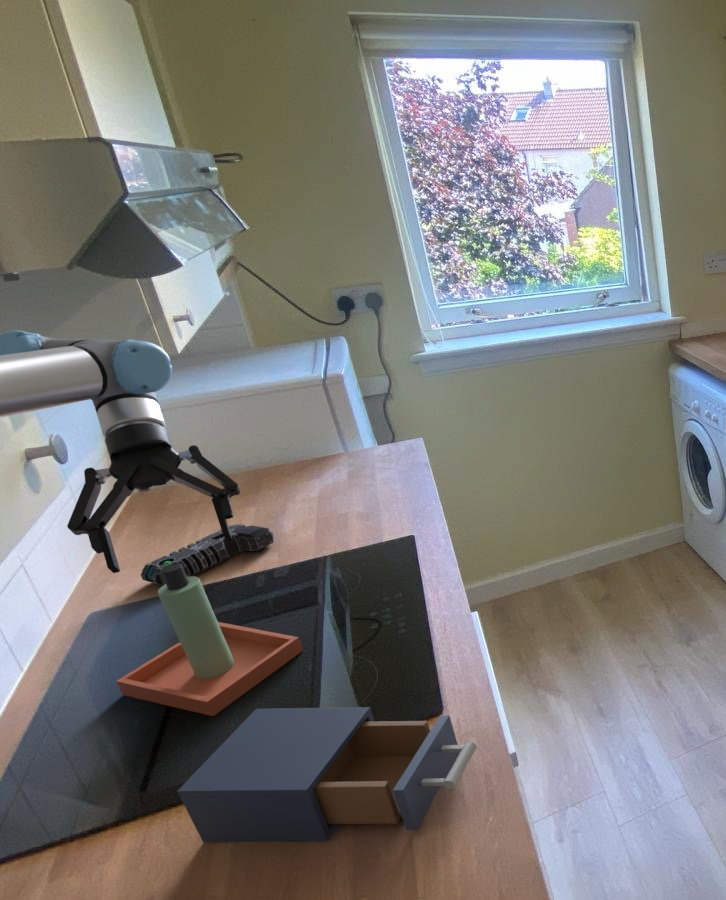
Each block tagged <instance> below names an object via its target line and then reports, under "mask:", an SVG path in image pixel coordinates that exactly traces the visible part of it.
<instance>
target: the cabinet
mask: <svg viewBox="0 0 726 900" xmlns="http://www.w3.org/2000/svg"><path fill="white" fill-rule="evenodd" d="M363 722H376V721H375V719H374V716H373V713H372V710H371V707H370V706H367V707H366V706H363V707H362V706H361V707H359V706H358V707H357V706H356V707H351V706H350V707H291V708H290V707H287V708H286V707H285V708H282V707H281V708H276V707H275V708H255V709H254V710H253V711H252V712H251V713H250V714H249V715H248V717H247V718H246V719H245V720H244V721H243V722H242V723H241V724H240V725H239V726H238V727H237V728H236V729H235V730H234V731H233V732H232V733H231V734H230V736H228V737H227V739H226V740H225V741H223V742H222V744H221V745H220V746H219V747H218V748H217V749H216V750H215V751H214V752H213V753H212V754H211V755H210V756H209V757H208V758H207V759H206V760H205V761H204V763H202V764H201V766H200V767H199V768H197V770H195V772H194V773H193V774H192V775H190V777H189V778H188V779H187V780H186V781H185V782H184V783H183V785H181V787H180V788H179V789H177V791H176V792H177V794H178V796H179V798H180V800H181V802H182V804H183V805H184V808H185V810H186V811H187V814H188V816H189V818H190V819H191V821H192V823H193V825H194V827H195V829H196V831H197V834H198V835H199V838H200V840H201V842H202V843H291V842H293V843H296V842H297V843H298V842H299V843H303V842H306V843H307V842H308V843H309V842H329V841H330V839H331V837H332V836H333V835H334V833H335V831H336V830H337V828H338V827H339V826H340V824H327V823H326V820H325V818H324V815H323V813H322V810H321V808H320V805H319V803H318V800H317V798H316V796H315V793H314V791H313V789H314V787H315V786H316V785H317V783H318V782H319V781H320V779H321V778H322V777H323V775H324V774H325V773H326V771H327V770H328V769H329V767H330V766H331V765H332V763H333V762H334V761H335V760H336V758H337V757H338V756H339V754H340V753H341V752H342V750H343V749H344V748H345V746H346V745H347V744H348V742H349V741H350V740H351V738H352V737H353V736H354V734H355V733H356V732H357V730H358V729H359V728H360V726H361V725H362V724H363Z"/></svg>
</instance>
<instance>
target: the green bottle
mask: <svg viewBox="0 0 726 900" xmlns="http://www.w3.org/2000/svg"><path fill="white" fill-rule="evenodd" d="M160 572H161V574H162V576H163V579H164V581H165V583H166V584H165V585H163V586H162V585H161V586H160V587H159V588H158V590H157V595H158V597H159V599H160V601H161V603H162V606H163V609H164V610H165V612H166V615H167V617H168V619H169V621H170V623H171V625H172V627H173V630H174V632H175V634H176V636H177V639H178V641H179V642H180V643H181V645H182V647H183V650H184V652H185V654H186V656H187V658H188V661H189V663H190V665H191V667H192V669H193V672H194V674H195V676H196V678H198V679H210V678H214V677H217V676H219V675H221V674H223V673H225V672H227V671H228V670H229V669H230V668H231V667H232V666H233V665H234V659H233V657H232V655H231V652H230V650H229V647H228V645H227V643H226V640H225V638H224V636H223V633H222V631H221V629H220V626H219V624H218V622H219V621H218V620H217V617H216V615H215V612H214V610H213V608H212V605H211V603H210V601H209V598H208V595H207V594H206V591H205V588H204V586H203V584H202V582H201V579H200V577H197V576H191V577H187V576H186V574H185V572H184V569H183V567H182V565H181V564H179V563H177V564H171V565H168V566H166V567H164V568H162V569H161V571H160Z"/></svg>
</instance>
